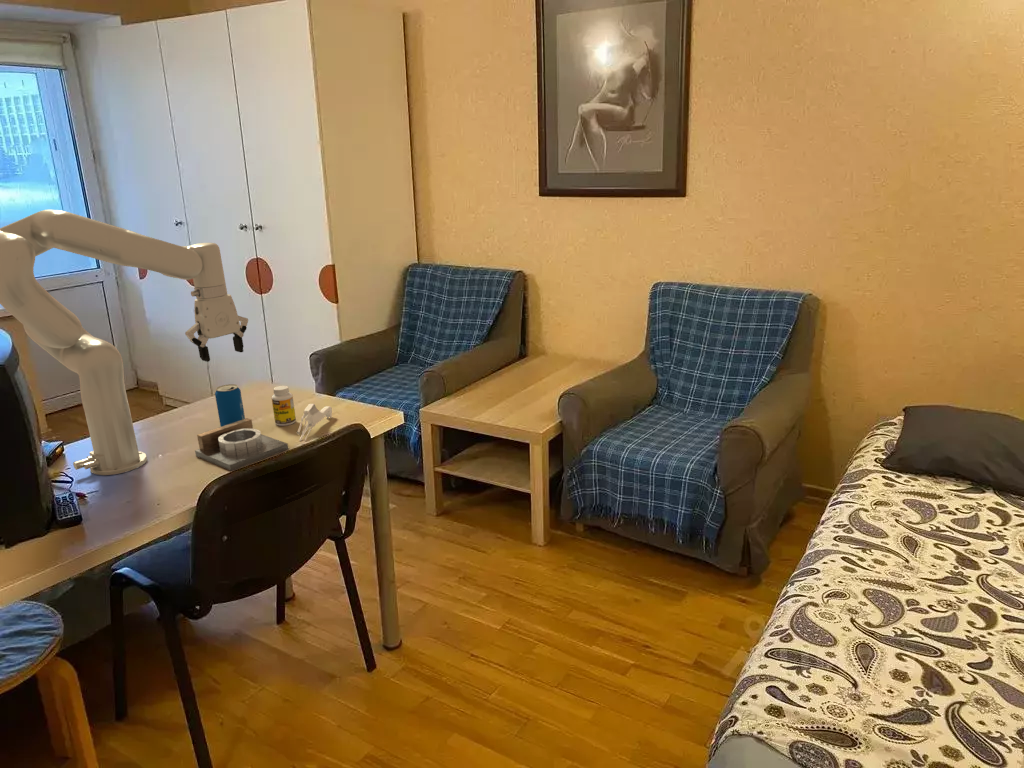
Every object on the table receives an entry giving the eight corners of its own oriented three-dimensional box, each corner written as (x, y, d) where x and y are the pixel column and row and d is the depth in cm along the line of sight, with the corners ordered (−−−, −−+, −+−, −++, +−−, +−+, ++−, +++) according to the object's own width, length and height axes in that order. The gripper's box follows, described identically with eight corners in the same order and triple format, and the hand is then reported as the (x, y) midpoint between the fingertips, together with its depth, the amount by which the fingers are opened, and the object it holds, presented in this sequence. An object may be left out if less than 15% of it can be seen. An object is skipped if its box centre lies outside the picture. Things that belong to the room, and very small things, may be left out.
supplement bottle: (272, 426, 210) (266, 391, 207) (279, 419, 215) (274, 384, 212) (291, 426, 210) (286, 390, 207) (299, 419, 215) (294, 384, 212)
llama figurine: (313, 459, 203) (334, 413, 216) (300, 428, 196) (323, 382, 209) (306, 459, 203) (328, 413, 217) (294, 428, 196) (317, 382, 210)
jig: (231, 470, 182) (227, 449, 181) (196, 456, 192) (192, 435, 191) (288, 449, 194) (285, 428, 192) (252, 436, 204) (249, 416, 202)
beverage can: (241, 433, 206) (234, 390, 203) (217, 434, 207) (210, 391, 203) (249, 424, 213) (243, 383, 209) (226, 425, 213) (219, 384, 209)
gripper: (187, 300, 190) (199, 366, 195) (249, 287, 202) (259, 350, 207) (171, 297, 194) (184, 362, 200) (233, 284, 207) (244, 346, 212)
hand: (222, 356), depth 204 cm, fingers open, 9 cm apart
